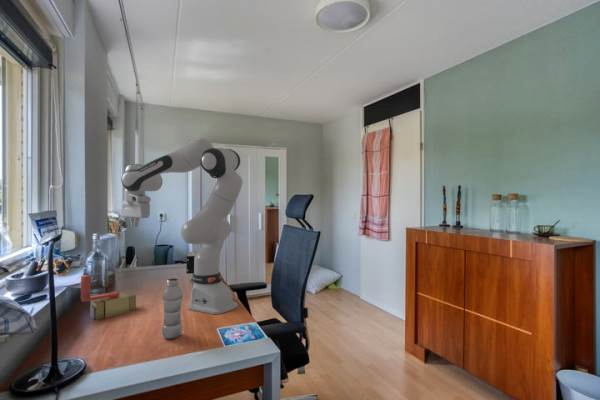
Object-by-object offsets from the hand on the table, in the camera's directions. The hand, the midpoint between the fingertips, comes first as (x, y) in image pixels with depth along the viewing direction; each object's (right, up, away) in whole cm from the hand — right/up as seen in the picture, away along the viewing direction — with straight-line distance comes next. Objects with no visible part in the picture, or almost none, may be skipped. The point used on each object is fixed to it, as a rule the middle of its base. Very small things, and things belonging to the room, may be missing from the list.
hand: (134, 226), depth 149 cm
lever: (-2, -27, -23) cm, 36 cm away
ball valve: (+20, -34, +29) cm, 49 cm away
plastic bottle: (+35, -35, -41) cm, 65 cm away
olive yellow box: (+2, -34, -20) cm, 39 cm away
